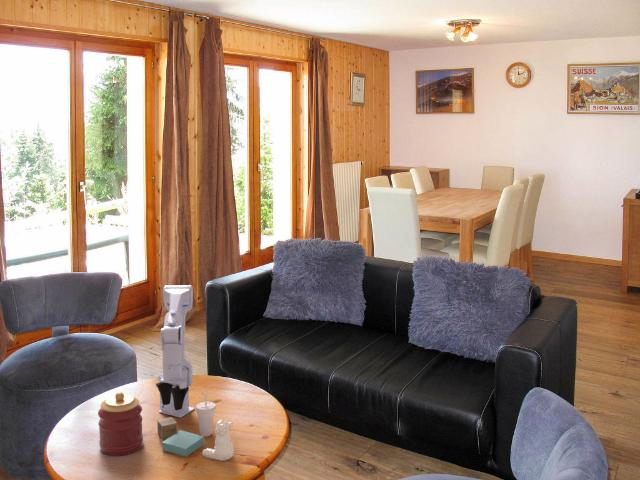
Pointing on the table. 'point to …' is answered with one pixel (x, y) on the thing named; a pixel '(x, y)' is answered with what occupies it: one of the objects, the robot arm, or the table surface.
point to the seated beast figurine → (221, 443)
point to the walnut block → (166, 428)
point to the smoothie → (205, 416)
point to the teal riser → (183, 443)
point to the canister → (120, 425)
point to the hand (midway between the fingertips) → (172, 407)
